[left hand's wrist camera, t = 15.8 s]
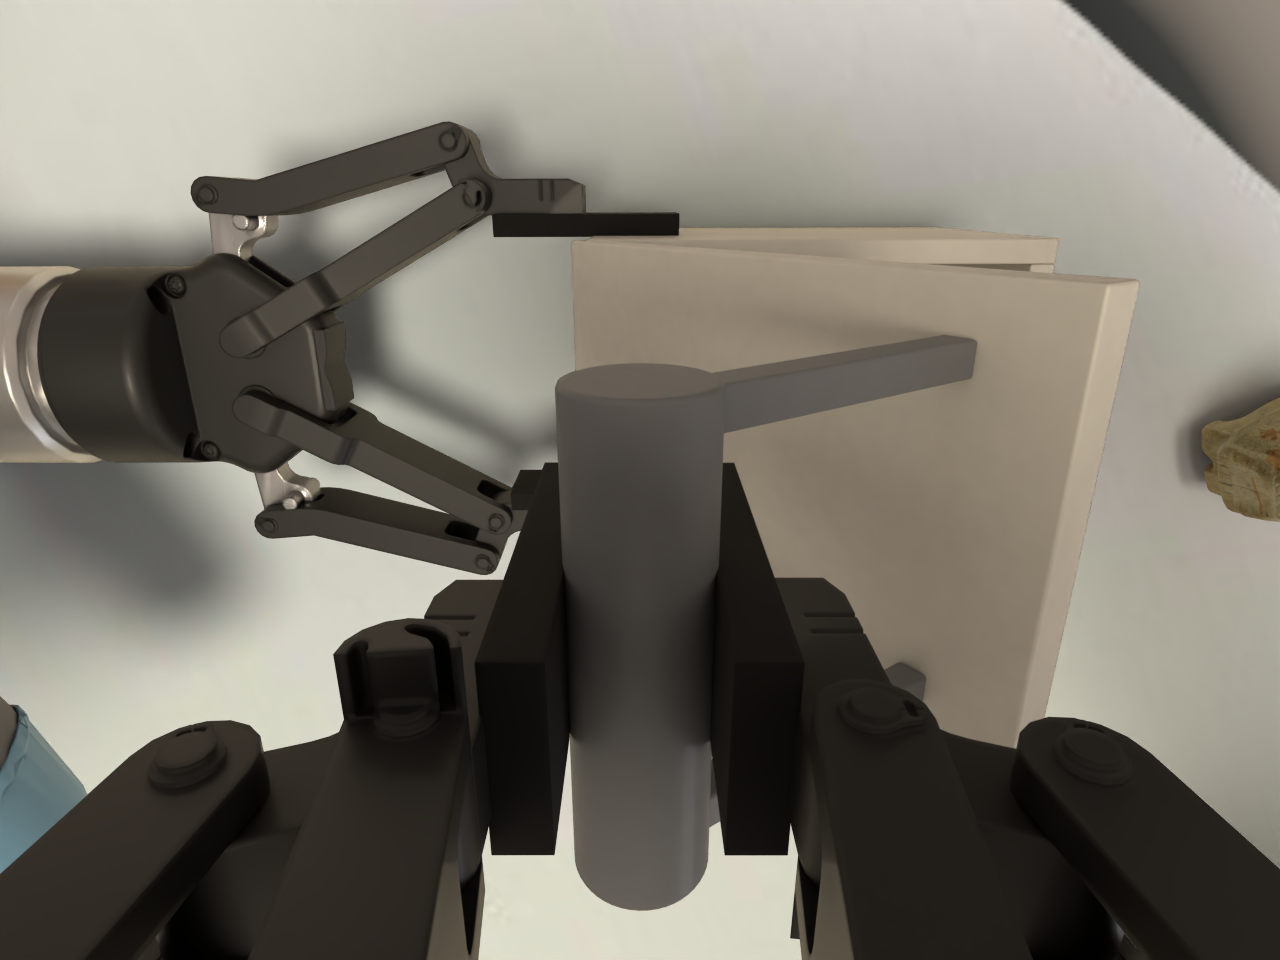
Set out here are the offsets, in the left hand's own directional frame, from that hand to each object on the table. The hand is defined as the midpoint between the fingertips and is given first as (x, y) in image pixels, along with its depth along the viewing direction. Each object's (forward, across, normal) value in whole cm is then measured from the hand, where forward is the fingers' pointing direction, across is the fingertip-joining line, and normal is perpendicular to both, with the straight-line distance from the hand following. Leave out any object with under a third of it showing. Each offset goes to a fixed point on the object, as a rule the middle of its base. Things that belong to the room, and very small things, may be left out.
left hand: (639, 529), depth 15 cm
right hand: (+16, -1, 0) cm, 16 cm away
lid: (+5, -3, 0) cm, 6 cm away
